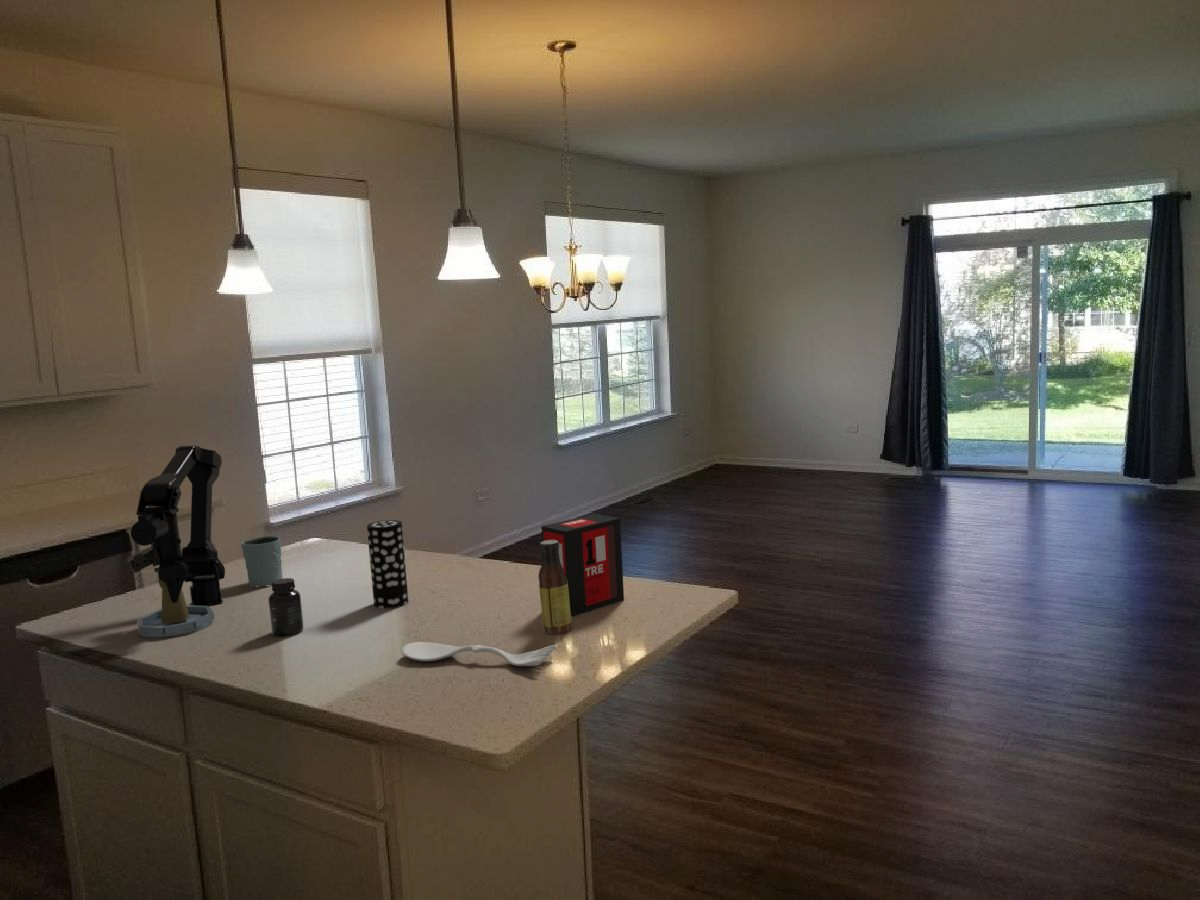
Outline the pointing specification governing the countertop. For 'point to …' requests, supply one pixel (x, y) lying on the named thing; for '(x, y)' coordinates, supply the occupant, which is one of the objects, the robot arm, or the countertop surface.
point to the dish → (175, 623)
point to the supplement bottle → (285, 608)
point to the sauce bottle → (553, 590)
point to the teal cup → (263, 560)
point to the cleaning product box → (590, 560)
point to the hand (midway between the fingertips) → (173, 599)
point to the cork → (172, 606)
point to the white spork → (441, 651)
